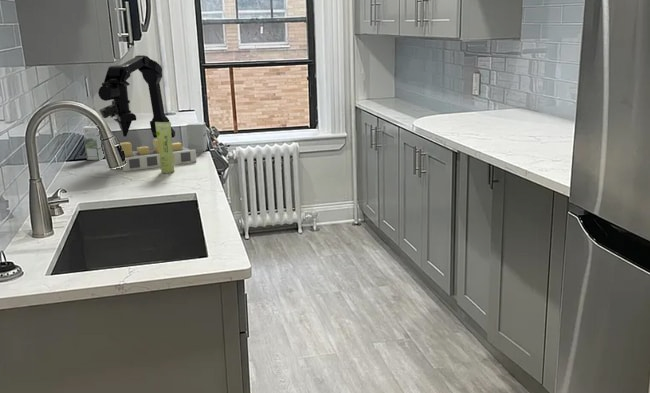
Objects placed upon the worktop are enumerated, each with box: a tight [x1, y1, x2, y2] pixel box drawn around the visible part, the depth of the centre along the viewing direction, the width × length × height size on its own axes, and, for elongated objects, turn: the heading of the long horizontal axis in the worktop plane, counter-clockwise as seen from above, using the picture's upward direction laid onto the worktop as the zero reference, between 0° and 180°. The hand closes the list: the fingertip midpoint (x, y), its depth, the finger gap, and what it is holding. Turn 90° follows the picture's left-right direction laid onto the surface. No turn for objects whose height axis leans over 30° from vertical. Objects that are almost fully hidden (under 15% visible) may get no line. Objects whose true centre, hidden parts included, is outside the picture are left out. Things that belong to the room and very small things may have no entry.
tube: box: [155, 121, 175, 174], centre depth 236 cm, size 6×5×20 cm
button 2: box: [152, 138, 159, 153], centre depth 258 cm, size 4×4×6 cm
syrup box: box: [82, 125, 105, 161], centre depth 263 cm, size 6×6×14 cm
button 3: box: [136, 145, 150, 155], centre depth 255 cm, size 4×4×6 cm
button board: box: [120, 145, 190, 170], centre depth 257 cm, size 14×30×4 cm, turn 122°
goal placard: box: [122, 150, 197, 172], centre depth 248 cm, size 1×30×5 cm, turn 121°
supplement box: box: [186, 121, 208, 153], centre depth 277 cm, size 7×7×13 cm
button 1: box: [172, 142, 183, 151], centre depth 262 cm, size 4×4×6 cm
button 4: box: [119, 141, 133, 157], centre depth 251 cm, size 4×4×6 cm
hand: (124, 136), depth 249 cm, fingers closed
